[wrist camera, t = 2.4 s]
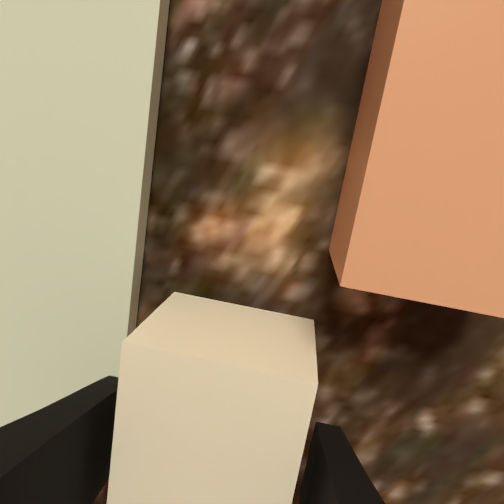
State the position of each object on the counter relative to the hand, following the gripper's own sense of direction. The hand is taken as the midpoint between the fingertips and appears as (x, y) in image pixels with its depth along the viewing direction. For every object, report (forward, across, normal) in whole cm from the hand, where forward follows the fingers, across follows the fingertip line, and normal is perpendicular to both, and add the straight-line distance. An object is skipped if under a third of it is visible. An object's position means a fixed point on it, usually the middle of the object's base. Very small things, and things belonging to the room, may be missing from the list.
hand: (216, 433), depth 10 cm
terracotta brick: (+2, -4, -8) cm, 9 cm away
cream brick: (+2, 0, 0) cm, 2 cm away
